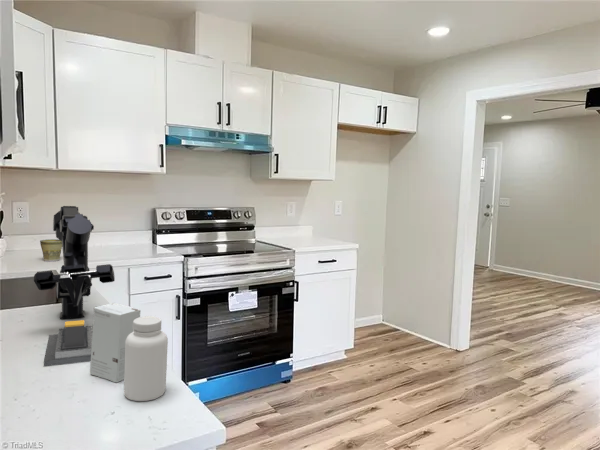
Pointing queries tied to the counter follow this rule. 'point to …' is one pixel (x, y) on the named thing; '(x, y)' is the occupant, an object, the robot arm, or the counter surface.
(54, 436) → the counter surface
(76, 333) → the breaker handle
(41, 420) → the counter surface
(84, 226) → the robot arm
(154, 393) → the pill bottle
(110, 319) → the skincare box
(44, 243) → the ceramic cup
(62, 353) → the grey shallow rectangular piece
